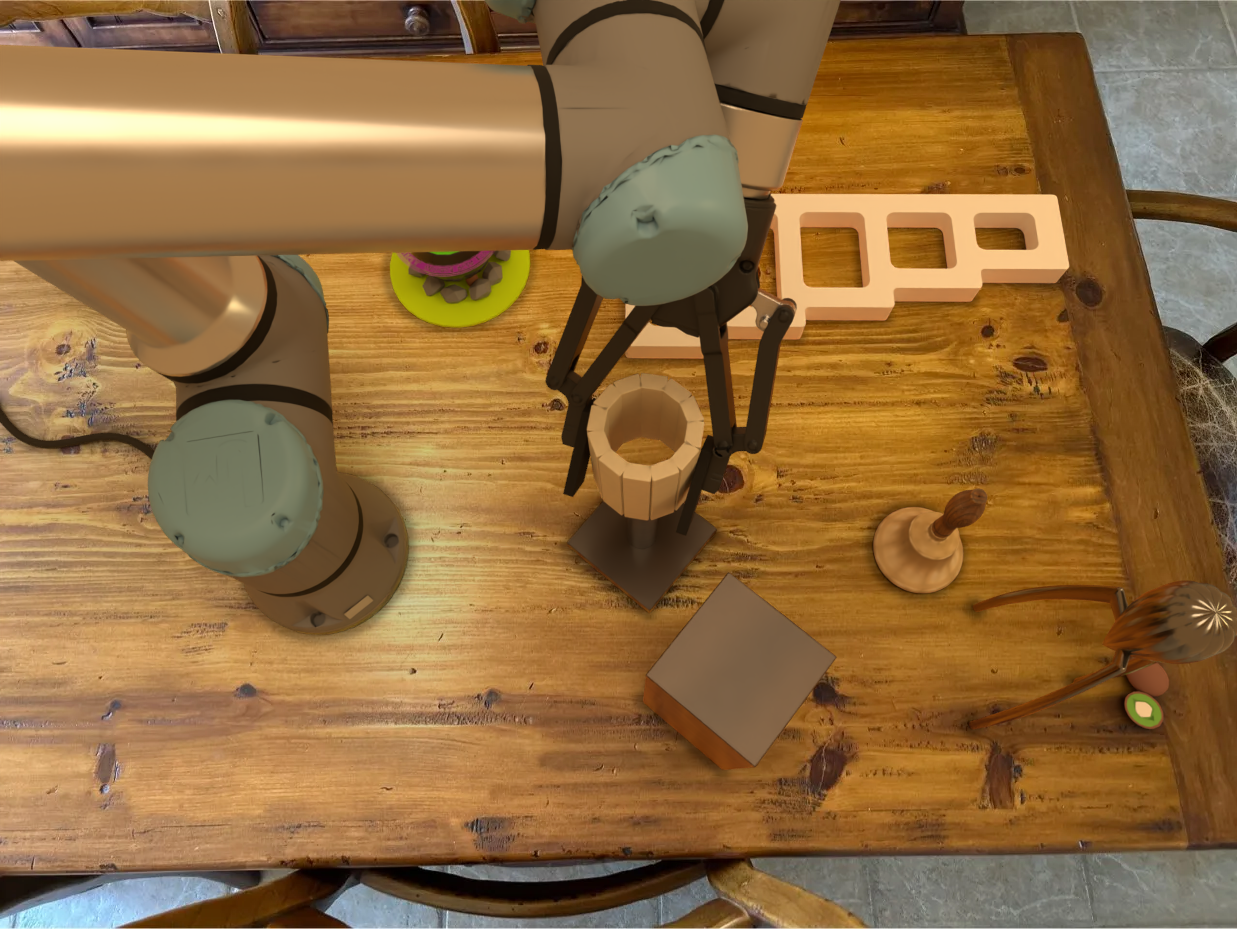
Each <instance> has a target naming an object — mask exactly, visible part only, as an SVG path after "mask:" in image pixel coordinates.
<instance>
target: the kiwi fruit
mask: <svg viewBox="0 0 1237 929" xmlns="http://www.w3.org/2000/svg"><path fill="white" fill-rule="evenodd" d="M1134 658H1135V657H1131V656H1130V658H1129V660H1131V659H1134ZM1125 676H1126V678H1127V680H1128V682H1129V683H1130V685H1131V686H1132V687H1133V688H1134V689H1135V690H1136V691H1131V692H1129V694H1127V695H1126V696H1125V697H1124V702H1123V705H1124V710H1125V712H1126V714H1127V716H1128V717H1129V719H1130V720H1131V721H1132V722H1134V723H1135V724H1136V725H1137V726H1139V727H1142V728H1144V729H1149V730H1154V729H1156V728H1159V727H1160V726H1161V725H1162V723H1163V722H1164V715H1165V714H1164V711H1163V708H1162V706H1161V705H1160V703H1159V701H1157V700H1156V698H1157V697H1160V696H1162V695H1164V694H1165V693H1166V691H1168V689H1169V687H1170V679H1169V676H1168V674H1167V672H1166V671H1165V668H1163V666H1162V665H1161V664H1160V663H1159V662H1158V663H1155V664H1153V665H1151V666H1148V667H1146V668H1143V669H1141V670H1138V671H1135V672H1132V673H1129V674H1126V675H1125Z"/></svg>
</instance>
